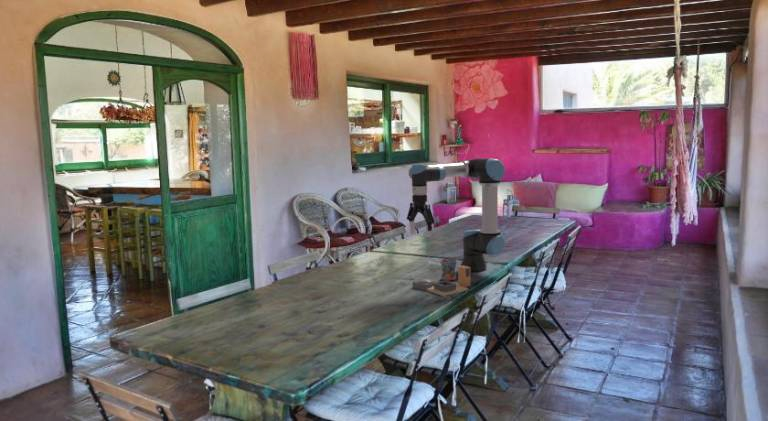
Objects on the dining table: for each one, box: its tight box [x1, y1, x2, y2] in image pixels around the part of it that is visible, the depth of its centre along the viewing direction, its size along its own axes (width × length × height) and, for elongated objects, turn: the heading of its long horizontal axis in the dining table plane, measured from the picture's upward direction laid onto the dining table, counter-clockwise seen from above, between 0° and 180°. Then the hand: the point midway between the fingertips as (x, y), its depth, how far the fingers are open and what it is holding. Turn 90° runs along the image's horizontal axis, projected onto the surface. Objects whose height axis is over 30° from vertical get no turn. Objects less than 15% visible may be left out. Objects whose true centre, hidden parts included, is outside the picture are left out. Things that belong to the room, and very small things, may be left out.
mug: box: [439, 258, 458, 282], centre depth 314 cm, size 12×9×11 cm
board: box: [427, 280, 469, 297], centre depth 293 cm, size 16×16×4 cm
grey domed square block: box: [411, 277, 440, 292], centre depth 300 cm, size 10×10×4 cm
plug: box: [457, 265, 472, 288], centre depth 299 cm, size 4×6×10 cm
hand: (420, 235), depth 294 cm, fingers open, 13 cm apart
